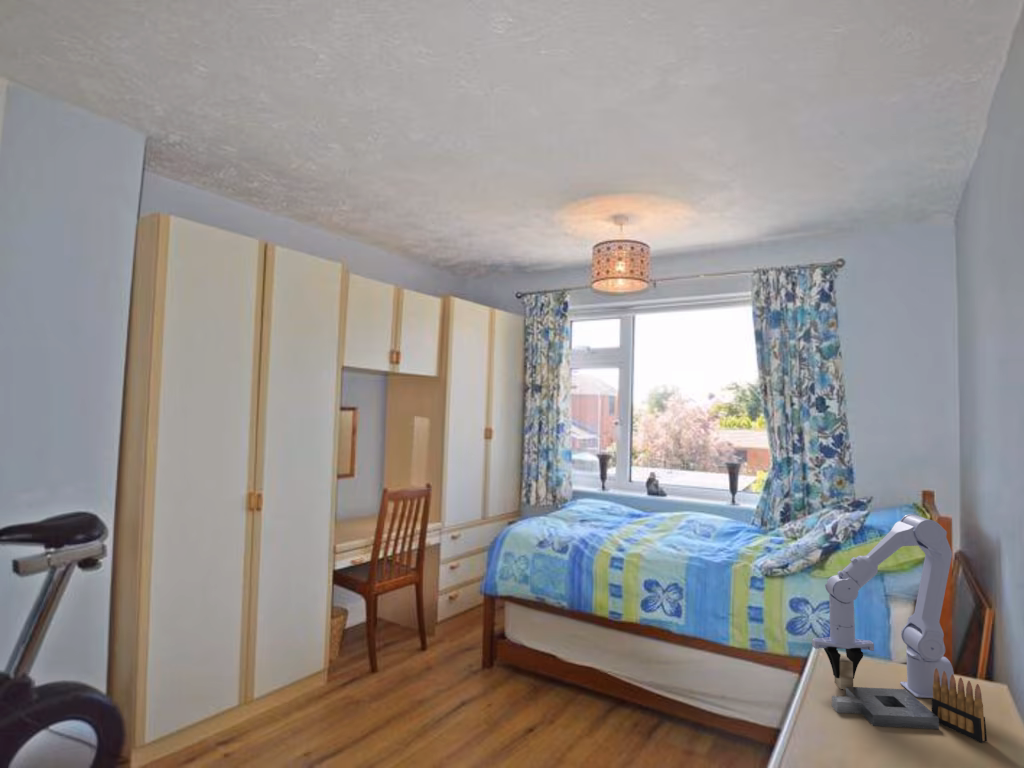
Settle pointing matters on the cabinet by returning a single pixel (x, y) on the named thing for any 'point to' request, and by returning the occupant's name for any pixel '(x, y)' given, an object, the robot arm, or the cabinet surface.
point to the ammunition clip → (959, 707)
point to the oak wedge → (845, 673)
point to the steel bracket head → (896, 713)
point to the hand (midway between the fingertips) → (843, 676)
